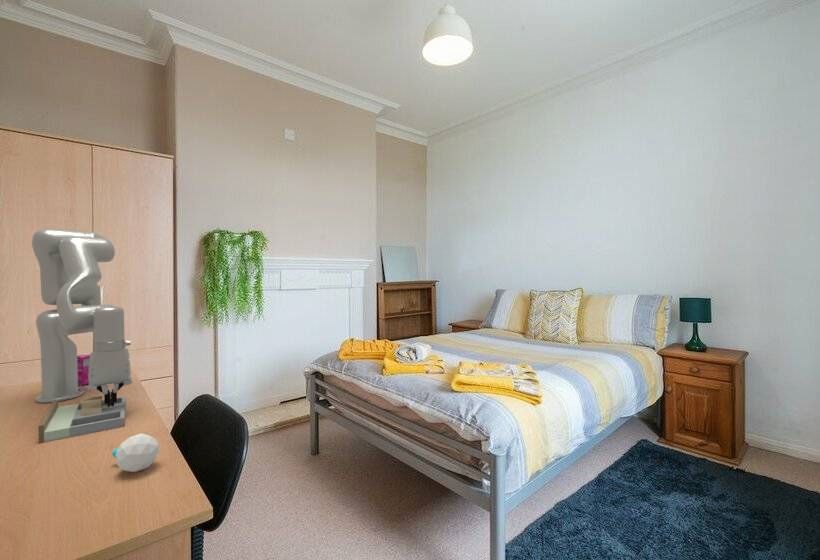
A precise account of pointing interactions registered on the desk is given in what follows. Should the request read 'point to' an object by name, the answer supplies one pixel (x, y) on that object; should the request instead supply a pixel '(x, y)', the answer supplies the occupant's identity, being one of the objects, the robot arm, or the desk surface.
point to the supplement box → (83, 369)
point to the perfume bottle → (136, 453)
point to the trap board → (80, 420)
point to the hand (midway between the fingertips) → (110, 405)
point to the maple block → (91, 405)
